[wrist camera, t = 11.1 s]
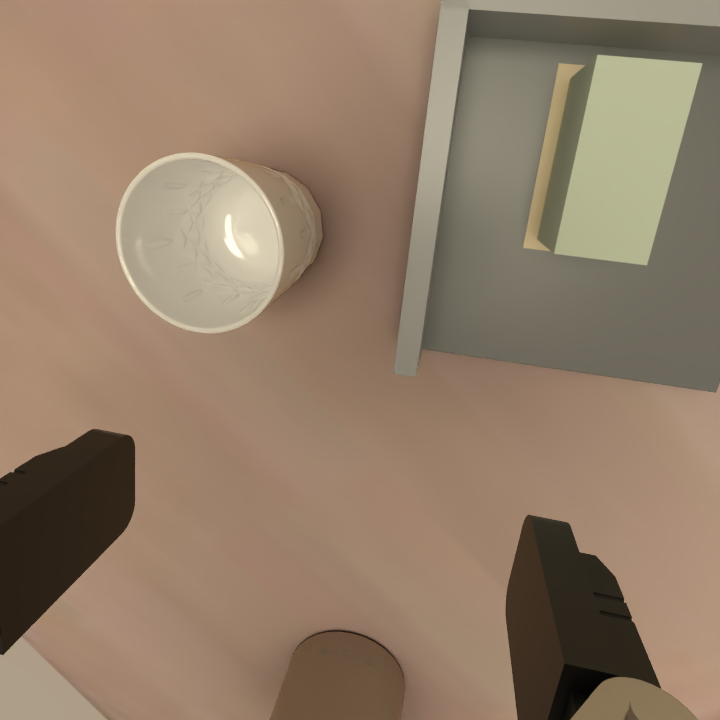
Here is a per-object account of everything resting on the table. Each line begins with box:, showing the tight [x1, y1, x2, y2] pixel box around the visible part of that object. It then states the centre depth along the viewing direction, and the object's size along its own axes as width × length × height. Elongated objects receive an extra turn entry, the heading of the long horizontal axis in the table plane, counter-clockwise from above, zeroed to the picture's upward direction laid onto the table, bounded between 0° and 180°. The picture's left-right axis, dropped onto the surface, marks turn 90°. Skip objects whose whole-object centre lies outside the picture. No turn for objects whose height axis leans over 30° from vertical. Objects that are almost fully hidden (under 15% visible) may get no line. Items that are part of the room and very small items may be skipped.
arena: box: [393, 0, 720, 392], centre depth 28 cm, size 18×18×6 cm
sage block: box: [537, 55, 703, 265], centre depth 26 cm, size 4×8×6 cm, turn 174°
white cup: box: [116, 152, 323, 333], centre depth 29 cm, size 8×8×10 cm
